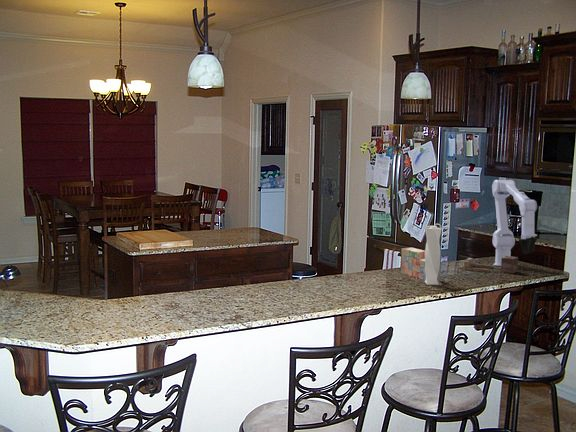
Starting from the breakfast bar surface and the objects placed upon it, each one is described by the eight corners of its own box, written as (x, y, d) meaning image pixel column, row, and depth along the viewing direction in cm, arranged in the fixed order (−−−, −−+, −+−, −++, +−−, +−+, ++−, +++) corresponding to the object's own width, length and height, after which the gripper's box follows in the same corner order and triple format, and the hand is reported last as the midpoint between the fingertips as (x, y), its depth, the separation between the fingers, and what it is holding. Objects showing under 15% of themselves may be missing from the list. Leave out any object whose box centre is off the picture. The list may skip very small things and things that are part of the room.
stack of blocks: (438, 280, 297) (439, 254, 296) (427, 281, 295) (428, 255, 293) (411, 271, 317) (412, 247, 315) (400, 272, 314) (401, 247, 313)
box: (517, 271, 317) (518, 257, 316) (512, 273, 313) (513, 258, 312) (505, 270, 321) (506, 255, 320) (500, 271, 317) (501, 257, 316)
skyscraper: (443, 286, 286) (445, 223, 283) (425, 286, 287) (427, 223, 283) (439, 282, 295) (441, 221, 291) (421, 282, 295) (423, 221, 292)
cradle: (469, 265, 332) (470, 256, 331) (492, 267, 326) (493, 258, 326) (464, 269, 321) (464, 260, 321) (488, 272, 316) (488, 262, 315)
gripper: (531, 225, 301) (531, 254, 302) (541, 224, 313) (541, 252, 313) (516, 225, 305) (516, 254, 306) (526, 224, 317) (526, 251, 317)
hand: (527, 253), depth 310 cm, fingers open, 7 cm apart
